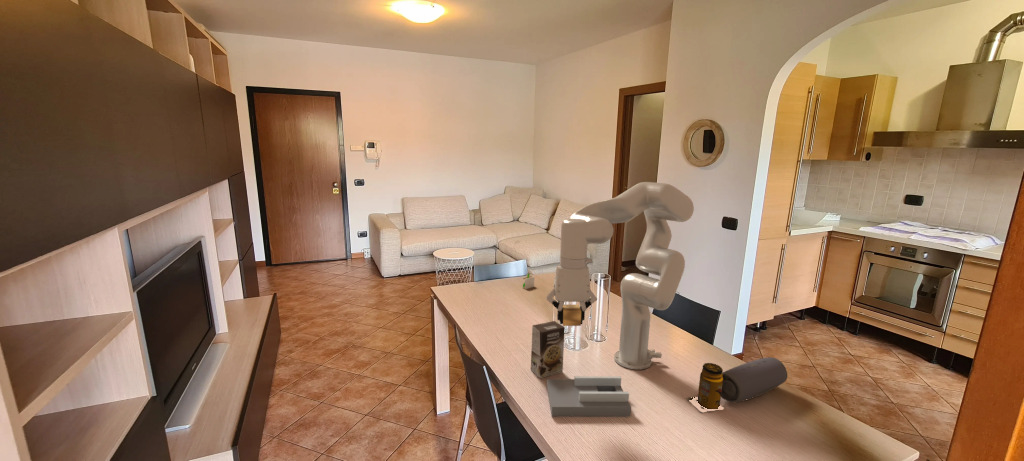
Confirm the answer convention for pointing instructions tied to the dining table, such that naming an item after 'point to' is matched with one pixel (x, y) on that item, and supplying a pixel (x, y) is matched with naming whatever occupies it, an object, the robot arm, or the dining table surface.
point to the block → (571, 315)
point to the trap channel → (588, 397)
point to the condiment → (710, 386)
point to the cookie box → (547, 349)
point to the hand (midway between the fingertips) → (570, 321)
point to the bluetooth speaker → (752, 379)
